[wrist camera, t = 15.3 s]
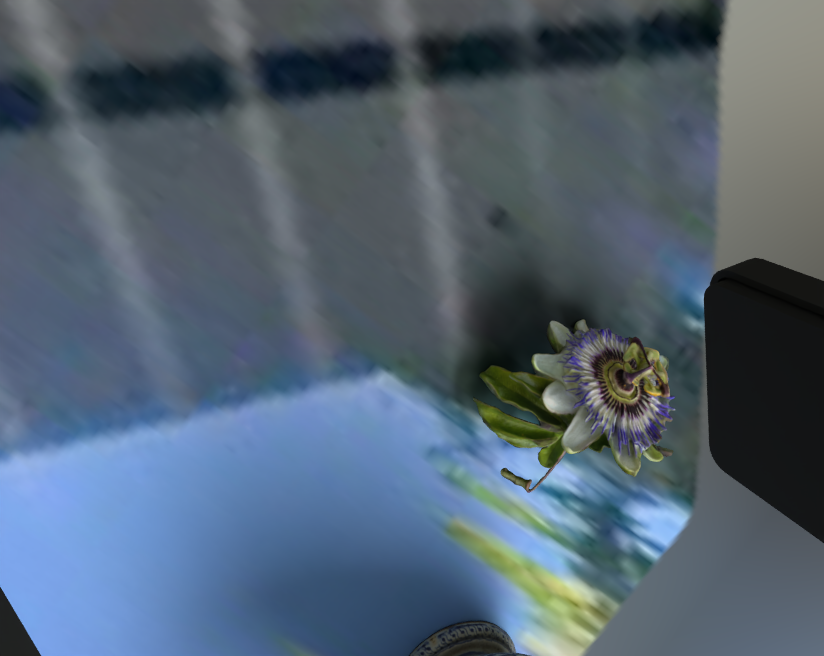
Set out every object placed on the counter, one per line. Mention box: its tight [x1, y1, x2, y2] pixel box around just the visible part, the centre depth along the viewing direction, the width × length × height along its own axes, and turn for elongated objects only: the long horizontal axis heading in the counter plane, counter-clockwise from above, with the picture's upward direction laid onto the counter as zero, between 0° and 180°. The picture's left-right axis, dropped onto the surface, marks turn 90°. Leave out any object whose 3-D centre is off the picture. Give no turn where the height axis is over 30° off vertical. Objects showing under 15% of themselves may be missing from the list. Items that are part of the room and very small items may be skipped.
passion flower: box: [473, 319, 675, 493], centre depth 51 cm, size 11×11×12 cm
